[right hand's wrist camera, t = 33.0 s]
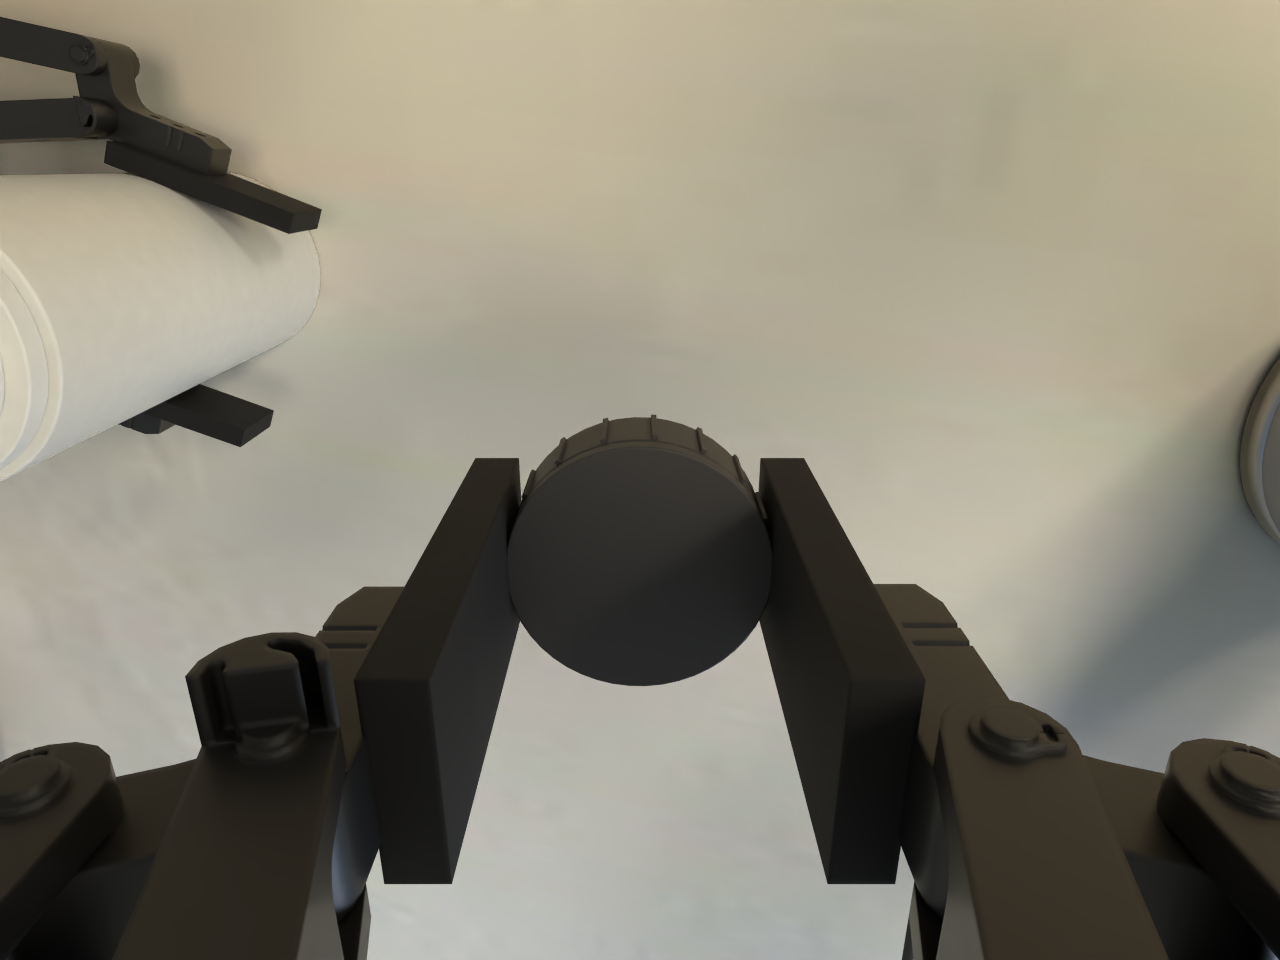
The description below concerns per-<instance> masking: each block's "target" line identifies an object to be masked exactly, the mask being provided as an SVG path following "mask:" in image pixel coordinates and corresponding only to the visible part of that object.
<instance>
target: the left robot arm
mask: <svg viewBox="0 0 1280 960" xmlns="http://www.w3.org/2000/svg"><path fill="white" fill-rule="evenodd" d="M0 56H1V57H5V58H10V59H14V60H19V61H23V62H28V63H32V64H37V65H42V66H46V67H51V68H55V69H60V70H64V71H69V72H73V73H75V74H76V79H77V84H78V89H79V94H80V97H78V96H73V98H65V99H39V100H13V101H0V143H19V142H46V141H72V140H98V139H110V140H113V141H107V145H106V152H105V159H104V163H106V164H108V165H111V166H113V167H116V168H119V169H121V170H124V171H126V172H129V173H132V174H134V175H137V176H139V177H142V178H145V179H147V180H150V181H153V182H155V183H158V184H160V185H163V186H165V187H168V188H171V189H173V190H176V191H178V192H181V193H184V194H186V195H189V196H191V197H194V198H197V199H199V200H202V201H204V202H207V203H209V204H212V205H215V206H217V207H220V208H222V209H225V210H228V211H230V212H233V213H235V214H238V215H241V216H243V217H246V218H248V219H251V220H254V221H256V222H259V223H261V224H264V225H267V226H269V227H272V228H274V229H277V230H280V231H282V232H285V233H287V234H292V233H297V232H302V231H307V230H312V229H317V227H318V223H319V219H320V214H321V210H322V209H319V208H316V207H314V206H311V205H309V204H306V203H304V202H301V201H299V200H296V199H293V198H291V197H288V196H286V195H283V194H281V193H278V192H276V191H273V190H270V189H268V188H265V187H263V186H260V185H258V184H255V183H253V182H250V181H247V180H245V179H242V178H240V177H237V176H235V175H232V174H230V173H227V170H228V165H229V160H230V155H231V149H230V148H229V147H228V146H227V145H225V144H224V143H223V142H222V141H221V140H220V139H218V138H215V137H213V136H210V135H208V134H205V133H202V132H200V131H198V130H195V129H192V128H190V127H188V126H185V125H183V124H180V123H177V122H175V121H172V120H170V119H167V118H165V117H162V116H160V115H157V114H155V113H153V112H151V111H150V110H148V109H147V108H146V107H145V106H144V105H143V104H142V102H141V101H140V99H139V97H138V94H137V90H136V84H135V78H136V76H137V75H138V73H139V69H140V65H139V59H138V58H137V56H136V54H135V52H133V51H132V50H131V49H130V48H129V47H127V46H125V45H122V44H118V43H114V42H109V41H105V40H100V39H96V38H92V37H87V36H83V35H79V34H74V33H70V32H65V31H61V30H56V29H52V28H47V27H43V26H38V25H34V24H29V23H25V22H20V21H16V20H11V19H7V18H3V17H0ZM273 412H274V411H273V410H271V409H268V408H265V407H262V406H259V405H257V404H254V403H251V402H248V401H245V400H243V399H240V398H237V397H234V396H231V395H229V394H226V393H223V392H220V391H217V390H215V389H212V388H209V387H206V386H203V385H201V384H198V385H196V386H194V387H192V388H190V389H188V390H186V391H184V392H182V393H180V394H178V395H176V396H174V397H172V398H170V399H168V400H166V401H164V402H162V403H160V404H158V405H156V406H154V407H152V408H150V409H148V410H146V411H144V412H142V413H140V414H138V415H136V416H134V417H132V418H130V419H127V420H125V421H123V422H121V423H119V425H122V426H124V427H127V428H132V429H133V430H136V431H139V432H142V433H145V434H159V433H161V432H163V431H165V430H166V429H168V428H170V427H172V426H174V425H175V424H176V425H179V426H182V427H184V428H187V429H190V430H193V431H196V432H199V433H202V434H204V435H207V436H210V437H213V438H216V439H219V440H222V441H224V442H227V443H230V444H233V445H236V446H239V447H241V446H243V445H244V444H246V443H247V442H249V441H250V440H251V439H253V438H254V437H256V436H257V435H259V434H260V433H261V432H263V431H264V430H266V429H267V428H269V427H270V424H271V420H272V416H273Z"/></svg>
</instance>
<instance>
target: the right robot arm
mask: <svg viewBox="0 0 1280 960" xmlns="http://www.w3.org/2000/svg"><path fill="white" fill-rule="evenodd" d="M1240 471H1241V480H1242V485H1243V489H1244V494H1245V497H1246V499H1247V502H1248V505H1249V507H1250V509H1251V511H1252V513H1253V515H1254V516H1255V518H1256V519H1257V521H1258V522H1259V524H1260V525H1261V526H1262V528H1263V529H1264V530H1265V531H1266V532H1267V533H1268V534H1269V535H1270V536H1271V537H1272V538H1273V539H1274V540H1276V541H1277V542H1278V543H1279V544H1280V358H1279V359H1278V360H1277V362H1276V363H1275V364H1274V366H1273V367H1272V369H1271V370H1270V372H1269V373H1268V375H1267V377H1266V378H1265V380H1264V382H1263V383H1262V385H1261V387H1260V389H1259V391H1258V393H1257V395H1256V397H1255V399H1254V402H1253V404H1252V406H1251V409H1250V412H1249V415H1248V418H1247V421H1246V424H1245V428H1244V433H1243V437H1242V443H1241V452H1240ZM759 495H760V498H761V501H762V503H763V506H764V509H765V512H766V515H767V517H768V520H769V522H767V523H765V524H766V527H767V530H768V532H769V535H770V540H771V544H772V550H773V553H772V570H771V585H770V596H769V599H768V602H767V605H766V607H765V610H764V612H763V614H762V616H761V618H760V619H759V621H760V625H761V629H762V633H763V636H764V640H765V644H766V648H767V652H768V656H769V660H770V663H771V667H772V671H773V675H774V679H775V683H776V687H777V690H778V694H779V698H780V702H781V706H782V710H783V714H784V717H785V721H786V725H787V729H788V733H789V737H790V741H791V744H792V748H793V752H794V756H795V760H796V764H797V768H798V771H799V775H800V779H801V783H802V787H803V791H804V795H805V798H806V802H807V806H808V810H809V814H810V818H811V822H812V825H813V829H814V833H815V837H816V841H817V845H818V849H819V852H820V856H821V860H822V864H823V868H824V872H825V875H826V879H827V883H828V884H895V881H896V874H897V868H898V861H899V854H900V848H901V846H902V849H903V852H904V854H905V857H906V860H907V862H908V865H909V867H910V870H911V873H912V875H913V878H914V888H913V894H912V900H911V906H910V912H909V918H908V925H907V931H906V937H905V943H904V949H903V956H902V960H913V958H914V960H1280V758H1278V757H1276V756H1274V755H1272V754H1270V753H1269V752H1267V751H1265V750H1262V749H1259V748H1256V747H1253V746H1247V745H1246V744H1242V743H1237V742H1233V741H1224V740H1215V739H1205V738H1204V739H1198V740H1192V741H1186V742H1182V743H1181V744H1180V745H1179V746H1177V747H1176V748H1175V749H1174V750H1173V751H1171V753H1170V756H1169V760H1168V763H1167V767H1166V770H1165V773H1164V774H1163V773H1159V772H1154V771H1149V770H1144V769H1140V768H1135V767H1130V766H1125V765H1120V764H1116V763H1111V762H1106V761H1102V760H1099V759H1095V758H1091V757H1088V756H1084V755H1082V753H1081V750H1080V748H1079V746H1078V744H1077V743H1076V741H1075V740H1074V739H1073V737H1072V736H1071V734H1070V733H1069V732H1068V730H1067V729H1066V728H1065V727H1063V726H1062V725H1061V724H1059V723H1058V722H1057V721H1055V720H1054V719H1053V718H1051V717H1050V716H1048V715H1047V714H1045V713H1043V712H1041V711H1039V710H1036V709H1034V708H1032V707H1029V706H1027V705H1025V704H1023V703H1019V702H1015V701H1010V700H1009V698H1008V697H1007V696H1006V694H1005V693H1004V691H1003V690H1002V688H1001V687H1000V685H999V684H998V682H997V681H996V679H995V678H994V677H993V675H992V674H991V672H990V671H989V669H988V668H987V666H986V665H985V663H984V662H983V660H982V659H981V658H980V656H979V655H978V653H977V652H976V650H975V649H974V647H973V646H970V645H969V640H968V639H967V637H966V636H965V634H964V633H963V631H962V630H961V628H957V623H956V621H955V620H954V618H953V617H952V615H951V614H950V612H949V611H948V609H947V608H946V607H945V605H944V604H943V602H941V601H940V600H938V599H937V598H935V597H934V596H932V595H931V594H929V593H928V592H927V591H925V590H924V589H922V588H921V587H919V586H918V585H916V584H873V583H872V581H871V579H870V577H869V576H868V574H867V572H866V570H865V568H864V566H863V565H862V563H861V561H860V559H859V557H858V556H857V554H856V552H855V550H854V548H853V546H852V545H851V543H850V541H849V539H848V537H847V536H846V534H845V532H844V530H843V528H842V527H841V525H840V523H839V521H838V519H837V517H836V516H835V514H834V512H833V510H832V508H831V507H830V505H829V503H828V501H827V499H826V497H825V496H824V494H823V492H822V490H821V488H820V487H819V485H818V483H817V481H816V479H815V477H814V476H813V474H812V472H811V470H810V468H809V467H808V465H807V463H806V461H805V459H804V458H761V461H760V478H759ZM520 504H521V488H520V470H519V458H475V460H474V462H473V464H472V466H471V467H470V469H469V471H468V473H467V475H466V476H465V478H464V480H463V482H462V484H461V486H460V487H459V489H458V491H457V493H456V495H455V496H454V498H453V500H452V502H451V504H450V506H449V507H448V509H447V511H446V513H445V515H444V516H443V518H442V520H441V522H440V524H439V525H438V527H437V529H436V531H435V533H434V535H433V536H432V538H431V540H430V542H429V544H428V545H427V547H426V549H425V551H424V553H423V555H422V556H421V558H420V560H419V562H418V564H417V565H416V567H415V569H414V571H413V573H412V574H411V576H410V578H409V580H408V582H407V584H406V585H405V587H363V588H362V589H360V590H359V591H357V592H356V593H354V594H353V595H351V596H350V597H348V598H347V599H345V600H344V601H342V602H341V603H339V604H338V605H337V606H336V607H335V609H334V610H333V612H332V613H331V615H330V616H329V618H328V619H327V621H326V622H325V624H324V625H323V630H322V631H319V632H318V634H317V635H316V637H313V636H309V635H304V634H300V633H296V632H294V633H268V634H263V635H258V636H253V637H248V638H244V639H241V640H238V641H236V642H233V643H231V644H228V645H225V646H223V647H220V648H218V649H217V650H215V651H214V652H212V653H210V654H209V655H207V656H206V657H204V658H203V659H201V660H199V661H198V662H197V663H196V664H195V666H194V667H193V668H192V669H191V670H190V671H189V673H188V674H187V675H186V676H185V678H186V682H187V686H188V690H189V694H190V699H191V703H192V707H193V711H194V715H195V720H196V724H197V728H198V732H199V736H200V740H201V745H202V747H201V749H200V752H199V754H198V757H197V759H194V760H190V761H186V762H183V763H179V764H176V765H171V766H166V767H162V768H157V769H152V770H147V771H143V772H138V773H133V774H128V775H124V776H119V777H116V776H115V772H114V769H113V766H112V762H111V759H110V756H109V755H108V754H107V753H106V752H104V751H103V750H102V749H101V748H100V747H98V746H96V745H90V744H84V743H79V742H72V743H62V744H53V745H46V746H42V747H38V748H34V749H33V750H27V751H24V752H21V753H18V754H15V755H13V756H11V757H10V758H8V759H6V760H4V761H2V762H0V960H367V951H368V941H369V931H370V922H371V913H370V907H369V900H368V894H367V888H366V881H367V878H368V875H369V873H370V870H371V867H372V865H373V862H374V860H375V857H376V854H377V852H378V849H379V852H380V858H381V865H382V871H383V878H384V884H452V881H453V877H454V873H455V870H456V866H457V862H458V858H459V854H460V850H461V846H462V843H463V839H464V835H465V831H466V827H467V823H468V819H469V816H470V812H471V808H472V804H473V800H474V796H475V792H476V789H477V785H478V781H479V777H480V773H481V769H482V765H483V762H484V758H485V754H486V750H487V746H488V742H489V738H490V735H491V731H492V727H493V723H494V719H495V715H496V711H497V708H498V704H499V700H500V696H501V692H502V688H503V684H504V681H505V677H506V673H507V669H508V665H509V661H510V658H511V654H512V650H513V646H514V642H515V638H516V634H517V631H518V627H519V623H520V619H519V617H518V615H517V613H516V611H515V609H514V607H513V604H512V601H511V598H510V592H509V579H508V563H507V545H508V541H509V537H510V533H511V530H512V527H513V525H514V521H515V519H516V516H517V513H518V510H519V507H520Z"/></svg>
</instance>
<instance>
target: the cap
mask: <svg viewBox="0 0 1280 960" xmlns="http://www.w3.org/2000/svg"><path fill="white" fill-rule="evenodd" d="M767 522H769V520H768V517H767V515H766V512H765V509H764V506H763V503H762V501H761V498H760V495H759V492H756V493H754V490H753V487H752V485H751V483H750V481H749V479H748V477H747V476H746V474H745V472H744V471H743V469H742V468H741V465H740V462H739V459H738V457H737V456H736V455H734V456H731V455H730V454H729V453H728V452H727V451H726V450H725V449H724V448H723V447H722V446H720V445H719V444H718V443H716V442H715V441H714V440H713V439H711V438H709V437H708V436H706V435H704V434H703V432H702V429H701V428H699V427H697V429H696V430H695V429H692V428H690V427H688V426H685V425H683V424H679V423H676V422H672V421H668V420H663V419H656V415H651V418H636V417H633V418H624V419H616V420H612V421H609V420H608V418H605V419H603V423H600V424H597V425H595V426H592V427H589V428H587V429H584V430H583V431H581V432H579V433H577V434H575V435H573V436H571V437H570V438H568V439H567V440H566V438H565V437H564V438H562V439H561V440H560V444H559V446H557V447H556V448H555V449H554V450H553V451H552V452H551V453H550V454H549V455H548V456H547V457H546V458H545V459H544V461H543V462H542V463H541V464H540V466H539V467H538V468H537V470H536V471H535V470H533V469H532V471H531V472H530V475H529V478H528V481H527V484H526V486H525V489H524V492H523V495H522V501H521V504H520V507H519V510H518V513H517V516H516V519H515V521H514V525H513V527H512V530H511V533H510V537H509V541H508V545H507V563H508V579H509V592H510V598H511V601H512V604H513V607H514V609H515V611H516V613H517V615H518V617H519V619H520V621H521V623H522V624H523V626H524V627H525V629H526V630H527V631H528V633H529V634H530V636H531V637H532V638H533V639H534V640H535V641H536V642H537V644H538V645H539V646H540V647H541V648H542V649H543V650H545V651H546V652H547V653H548V654H549V655H550V656H552V657H553V658H554V659H556V660H557V661H559V662H560V663H562V664H563V665H565V666H566V667H568V668H570V669H572V670H574V671H576V672H578V673H580V674H582V675H585V676H588V677H590V678H593V679H596V680H600V681H604V682H608V683H612V684H620V685H627V686H651V685H661V684H666V683H671V682H676V681H680V680H683V679H686V678H689V677H692V676H695V675H697V674H699V673H701V672H703V671H705V670H708V669H709V668H711V667H713V666H714V665H716V664H718V663H719V662H721V661H722V660H724V659H725V658H726V657H728V656H729V655H730V654H731V653H733V652H734V651H735V650H736V649H737V648H738V647H739V646H740V645H741V644H742V643H743V642H744V641H745V640H746V639H747V637H748V636H749V635H750V633H751V632H752V631H753V629H754V628H755V627H756V625H757V623H758V621H759V619H760V618H761V616H762V614H763V612H764V610H765V607H766V605H767V602H768V599H769V596H770V585H771V570H772V553H773V550H772V544H771V540H770V535H769V532H768V530H767V527H766V524H765V523H767Z"/></svg>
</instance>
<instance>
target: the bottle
mask: <svg viewBox="0 0 1280 960" xmlns="http://www.w3.org/2000/svg"><path fill="white" fill-rule="evenodd" d="M227 173H229V172H227ZM230 174H232V175H235V176H237V177H240V178H242V179H245V180H247V181H250V182H253V183H255V184H258V185H260V186H263V187H265V188H268V189H270V188H269V187H267V186H265V185H264V184H262V183H260V182H258V181H256V180H253V179H251V178H249V177H246V176H242V175H239V174H235V173H230ZM270 190H272V189H270ZM319 289H320V265H319V259H318V255H317V250H316V247H315V245H314V242H313V239H312V237H311V235H310V233H309V231H308V230H307V231H302V232H297V233H292V234H287V233H285V232H282V231H280V230H277V229H274V228H272V227H269V226H267V225H264V224H261V223H259V222H256V221H254V220H251V219H248V218H246V217H243V216H241V215H238V214H235V213H233V212H230V211H228V210H225V209H222V208H220V207H217V206H215V205H212V204H209V203H207V202H204V201H202V200H199V199H197V198H194V197H191V196H189V195H186V194H184V193H181V192H178V191H176V190H173V189H171V188H168V187H165V186H163V185H160V184H158V183H155V182H153V181H150V180H147V179H145V178H142V177H139V176H137V175H134V174H132V173H95V174H37V175H0V482H1V481H3V480H6V479H8V478H10V477H12V476H14V475H16V474H18V473H20V472H22V471H24V470H26V469H28V468H30V467H32V466H34V465H36V464H39V463H41V462H43V461H45V460H47V459H49V458H51V457H53V456H55V455H57V454H59V453H61V452H63V451H65V450H67V449H69V448H71V447H73V446H75V445H77V444H79V443H81V442H83V441H85V440H87V439H89V438H91V437H93V436H95V435H97V434H99V433H101V432H103V431H105V430H107V429H109V428H111V427H113V426H115V425H117V424H119V423H121V422H123V421H125V420H127V419H130V418H132V417H134V416H136V415H138V414H140V413H142V412H144V411H146V410H148V409H150V408H152V407H154V406H156V405H158V404H160V403H162V402H164V401H166V400H168V399H170V398H172V397H174V396H176V395H178V394H180V393H182V392H184V391H186V390H188V389H190V388H192V387H194V386H196V385H198V384H200V383H202V382H204V381H206V380H208V379H210V378H212V377H214V376H216V375H219V374H221V373H223V372H225V371H227V370H229V369H231V368H233V367H235V366H237V365H239V364H241V363H243V362H245V361H247V360H249V359H251V358H253V357H255V356H257V355H259V354H261V353H263V352H265V351H267V350H269V349H271V348H273V347H275V346H277V345H279V344H281V343H283V342H285V341H286V340H288V339H290V338H291V337H292V336H294V335H295V334H296V333H297V332H298V331H299V330H300V329H301V328H302V327H303V326H304V325H305V324H306V322H307V321H308V319H309V318H310V316H311V314H312V312H313V310H314V308H315V305H316V302H317V299H318V295H319Z"/></svg>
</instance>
